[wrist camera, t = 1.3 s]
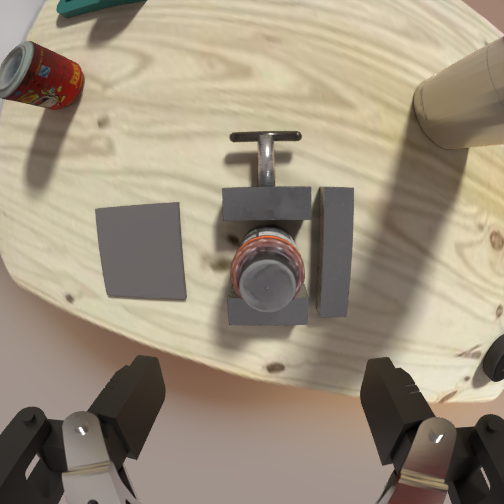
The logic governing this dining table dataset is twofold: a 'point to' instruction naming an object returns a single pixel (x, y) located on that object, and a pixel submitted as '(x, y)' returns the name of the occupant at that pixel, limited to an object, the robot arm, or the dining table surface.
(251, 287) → the supplement bottle
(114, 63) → the dining table surface
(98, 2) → the bracket
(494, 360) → the smart speaker
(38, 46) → the soda can
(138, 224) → the mat
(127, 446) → the robot arm
